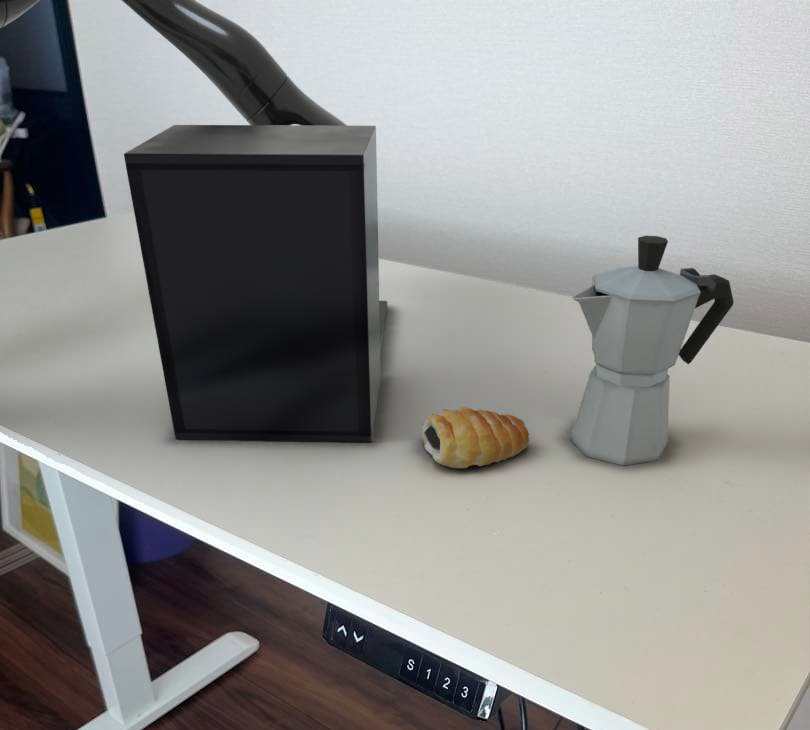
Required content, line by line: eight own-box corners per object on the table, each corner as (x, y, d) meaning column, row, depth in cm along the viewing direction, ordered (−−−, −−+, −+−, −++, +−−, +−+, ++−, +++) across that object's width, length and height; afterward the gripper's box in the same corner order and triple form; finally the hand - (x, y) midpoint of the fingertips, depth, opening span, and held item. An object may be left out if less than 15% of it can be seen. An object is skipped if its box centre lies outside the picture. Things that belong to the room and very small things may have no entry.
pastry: (509, 426, 77) (512, 388, 75) (542, 460, 72) (546, 421, 69) (415, 442, 74) (415, 403, 72) (442, 478, 69) (443, 438, 67)
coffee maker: (576, 475, 69) (606, 259, 59) (534, 429, 76) (554, 229, 66) (728, 451, 73) (782, 243, 62) (675, 409, 80) (715, 216, 69)
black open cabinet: (250, 306, 104) (227, 94, 91) (391, 308, 104) (389, 94, 90) (175, 439, 75) (123, 153, 61) (371, 442, 74) (363, 154, 60)
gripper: (231, 152, 86) (193, 187, 73) (367, 153, 86) (353, 188, 72) (240, 226, 90) (205, 271, 77) (368, 228, 90) (356, 273, 77)
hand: (277, 231), depth 75 cm, fingers closed on syrup box, 8 cm apart
